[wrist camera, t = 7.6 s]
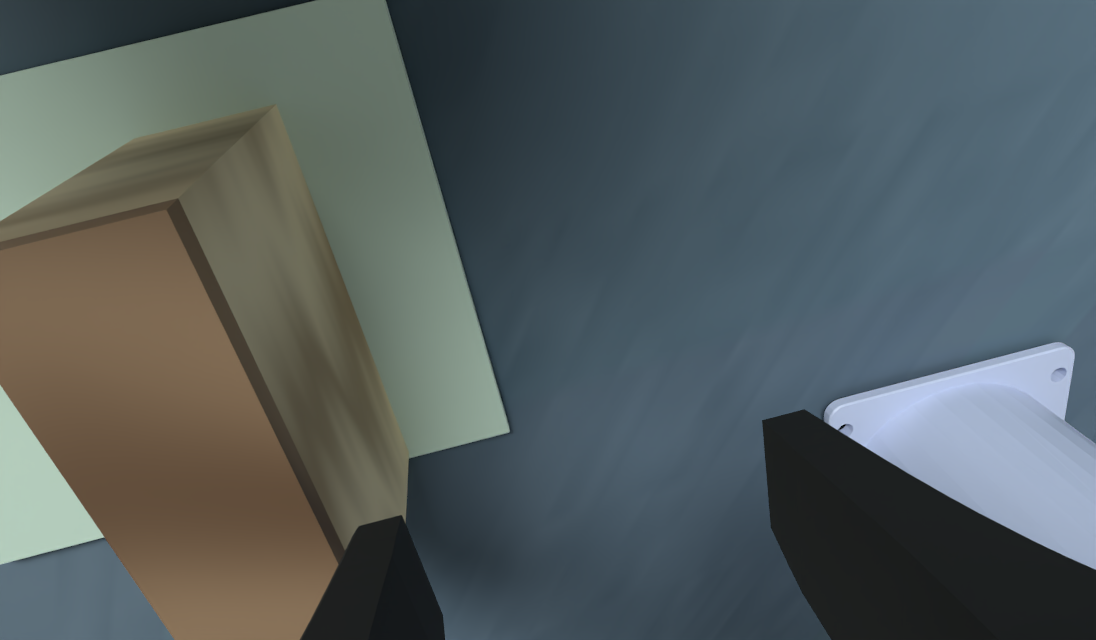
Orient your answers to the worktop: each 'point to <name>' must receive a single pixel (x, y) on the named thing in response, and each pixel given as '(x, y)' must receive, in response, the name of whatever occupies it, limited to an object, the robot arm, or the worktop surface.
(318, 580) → the oak slab
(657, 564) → the worktop surface
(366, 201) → the rubber mat
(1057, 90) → the worktop surface
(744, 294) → the worktop surface
